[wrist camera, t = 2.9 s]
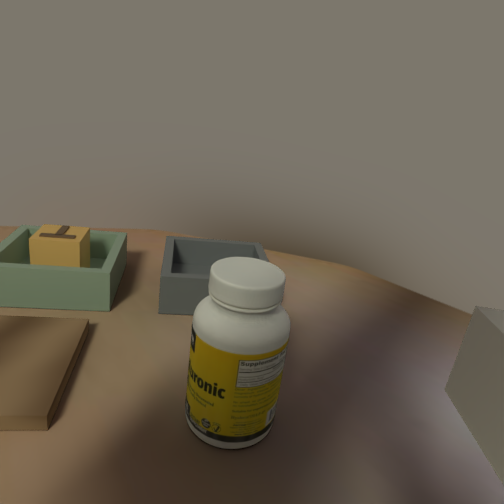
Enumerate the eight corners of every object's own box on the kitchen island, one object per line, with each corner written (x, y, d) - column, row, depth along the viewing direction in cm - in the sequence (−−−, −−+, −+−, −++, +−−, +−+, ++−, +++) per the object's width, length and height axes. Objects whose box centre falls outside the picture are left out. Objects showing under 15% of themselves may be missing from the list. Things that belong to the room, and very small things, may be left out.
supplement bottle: (172, 397, 26) (183, 253, 23) (248, 380, 29) (268, 248, 25) (202, 465, 22) (222, 299, 18) (289, 438, 24) (321, 288, 21)
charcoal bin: (256, 272, 46) (260, 242, 45) (272, 318, 37) (278, 283, 36) (164, 266, 45) (166, 235, 43) (158, 313, 35) (160, 276, 34)
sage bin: (126, 264, 44) (127, 232, 43) (109, 311, 35) (109, 273, 33) (24, 257, 42) (22, 224, 41) (-22, 305, 33) (-27, 265, 32)
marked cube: (90, 266, 40) (89, 226, 39) (80, 284, 37) (79, 240, 35) (46, 264, 40) (44, 222, 38) (31, 282, 36) (28, 237, 34)
